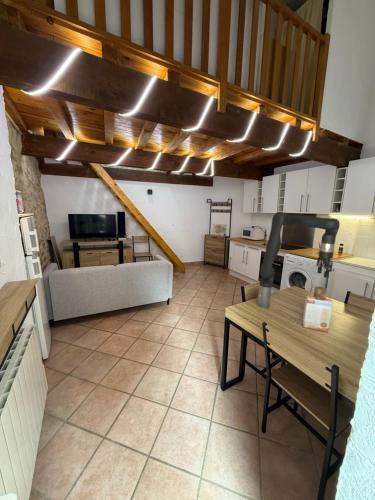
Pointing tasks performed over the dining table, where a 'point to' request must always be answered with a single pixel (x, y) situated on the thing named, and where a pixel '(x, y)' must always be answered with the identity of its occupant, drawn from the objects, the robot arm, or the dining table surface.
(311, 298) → the cracker box
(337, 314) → the dining table surface
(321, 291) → the walnut block
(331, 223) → the robot arm
